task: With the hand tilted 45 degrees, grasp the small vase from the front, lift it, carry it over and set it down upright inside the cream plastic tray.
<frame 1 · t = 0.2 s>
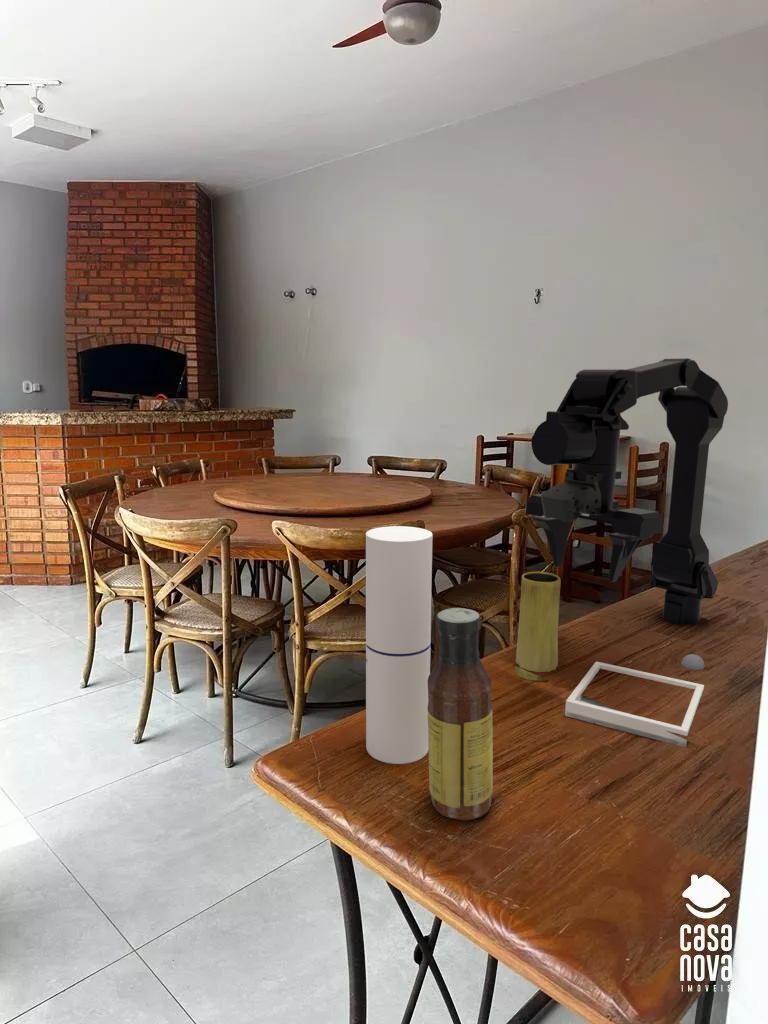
hand: (584, 573, 96), 14 cm above the table, tool pointing down, fingers open, 9 cm apart
sauce bottle: (458, 806, 68), on the table
mixing ball: (692, 665, 97), point 1 cm above the table
vase: (535, 674, 98), on the table
tray: (635, 707, 88), on the table
cylindrical container: (397, 748, 78), on the table
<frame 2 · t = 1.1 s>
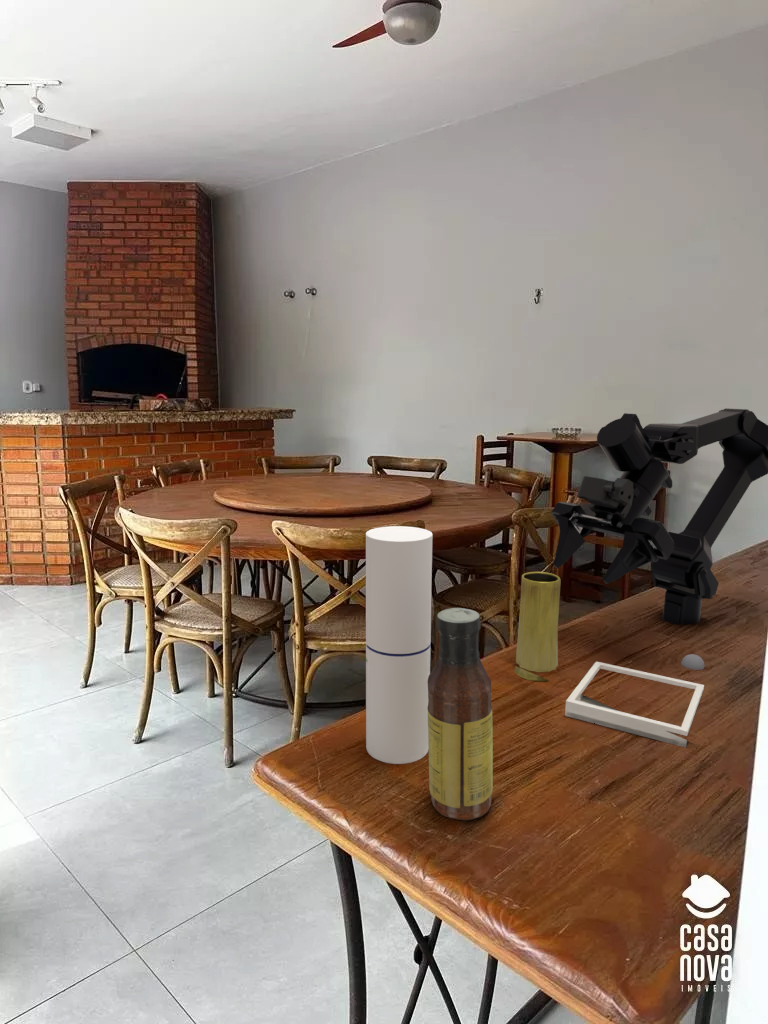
hand: (579, 573, 99), 13 cm above the table, tool tilted 45°, fingers open, 9 cm apart
nothing on the table moved.
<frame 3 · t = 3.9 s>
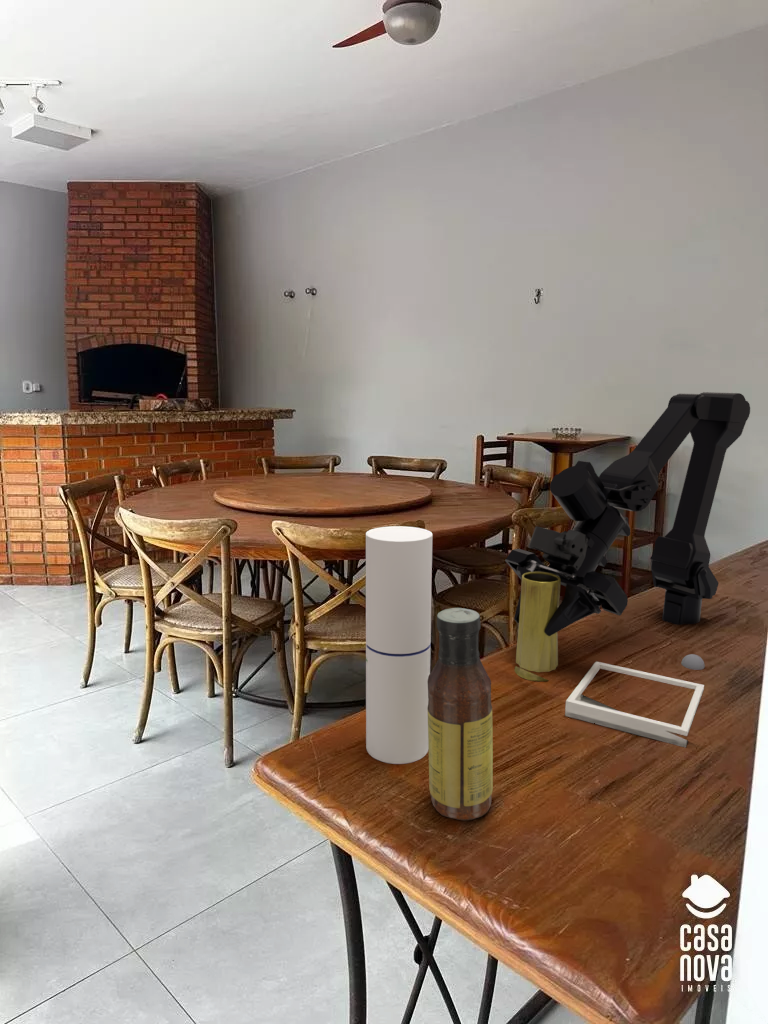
hand: (531, 627, 95), 7 cm above the table, tool tilted 45°, fingers closed on vase, 5 cm apart
vase: (535, 674, 98), on the table, touching gripper
everything else where it was.
when the fingers open (8 cm above the table, at t = 8.3 s): vase stays where it is, resting on tray.
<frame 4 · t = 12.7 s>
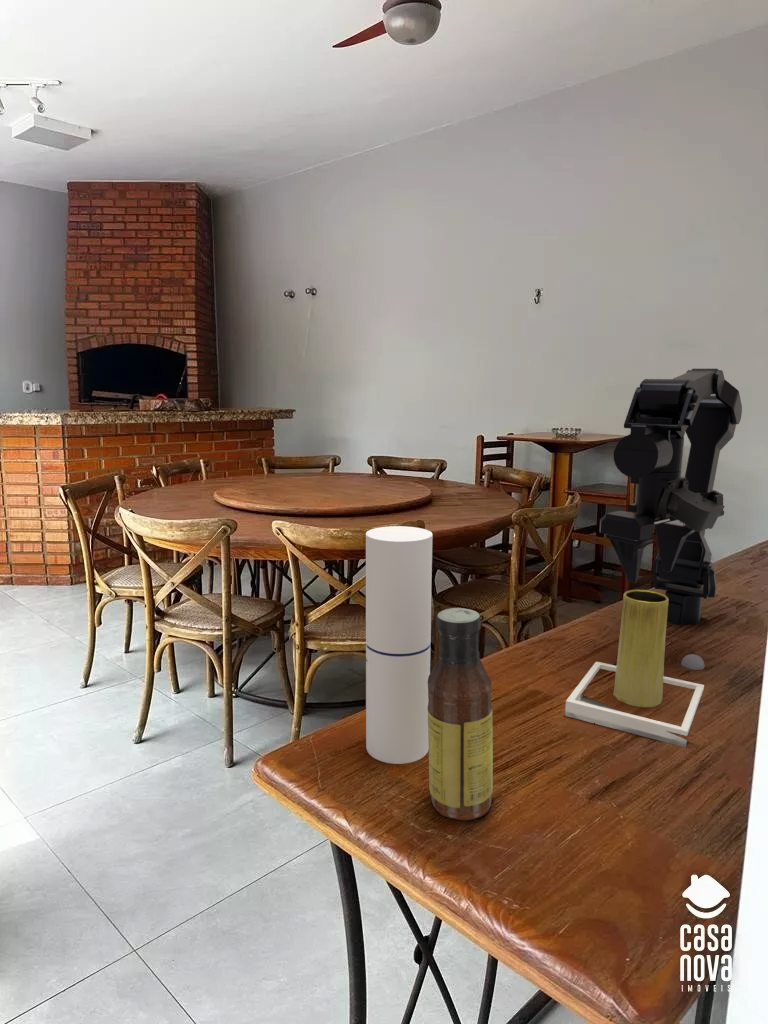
hand: (650, 576, 99), 13 cm above the table, tool pointing down, fingers open, 9 cm apart
vase: (636, 703, 88), resting on tray
everything else where it was.
at the end: vase inside the target area on the tray (0.2 cm from its centre), point 0.4 cm above the tray's base; vase tilted 0°; the gripper is holding nothing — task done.
